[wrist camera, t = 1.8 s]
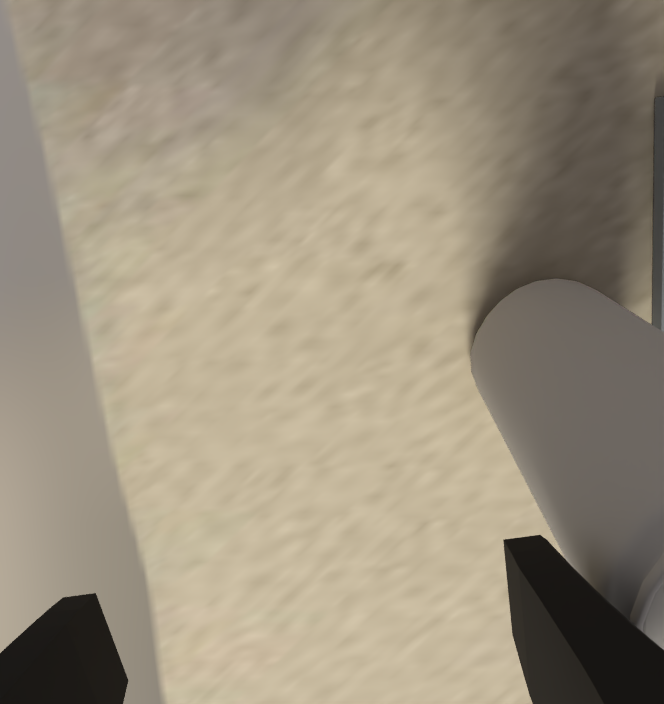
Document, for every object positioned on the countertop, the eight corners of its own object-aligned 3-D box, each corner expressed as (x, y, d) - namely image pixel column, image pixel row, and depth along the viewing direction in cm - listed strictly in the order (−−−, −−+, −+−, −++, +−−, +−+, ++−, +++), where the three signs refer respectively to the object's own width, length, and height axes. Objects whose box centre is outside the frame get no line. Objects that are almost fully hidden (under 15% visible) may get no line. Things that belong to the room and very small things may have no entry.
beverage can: (460, 414, 21) (600, 750, 9) (472, 273, 19) (656, 477, 8) (604, 415, 21) (918, 755, 9) (628, 274, 19) (1040, 480, 8)
